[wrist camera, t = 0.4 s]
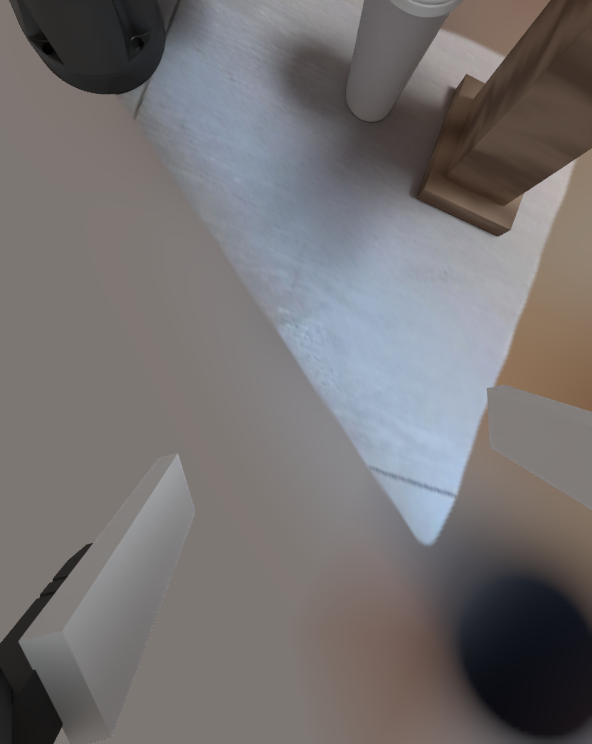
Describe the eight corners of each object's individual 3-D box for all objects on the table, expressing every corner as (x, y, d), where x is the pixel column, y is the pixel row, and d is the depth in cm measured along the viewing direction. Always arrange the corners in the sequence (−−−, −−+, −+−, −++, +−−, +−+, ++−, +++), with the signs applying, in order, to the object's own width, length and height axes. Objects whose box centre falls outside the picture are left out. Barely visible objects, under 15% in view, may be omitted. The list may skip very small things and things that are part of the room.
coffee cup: (320, 80, 37) (356, -109, 22) (380, 46, 38) (454, -159, 23) (358, 147, 38) (418, 7, 23) (417, 112, 39) (512, -45, 24)
